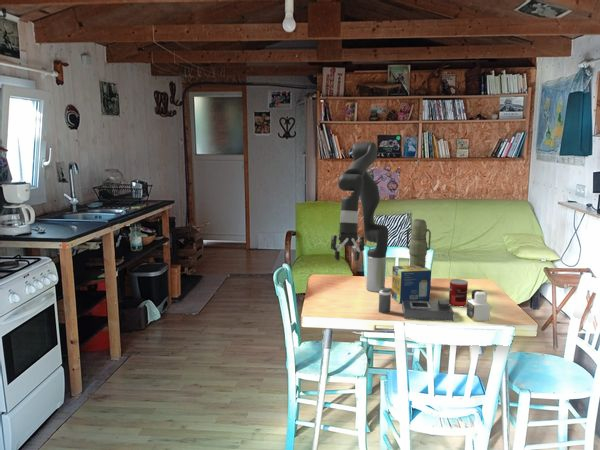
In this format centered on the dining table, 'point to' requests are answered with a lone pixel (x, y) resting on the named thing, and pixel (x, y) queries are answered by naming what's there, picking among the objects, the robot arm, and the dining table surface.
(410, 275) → the protein box
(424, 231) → the thermos
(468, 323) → the dining table surface
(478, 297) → the medicine bottle
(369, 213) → the robot arm
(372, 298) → the dining table surface
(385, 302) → the grey rounded cylinder
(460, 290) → the canned food
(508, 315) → the dining table surface
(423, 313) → the grey panel
